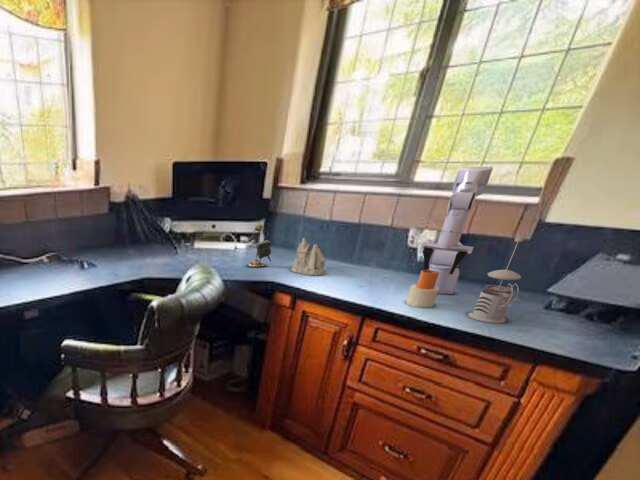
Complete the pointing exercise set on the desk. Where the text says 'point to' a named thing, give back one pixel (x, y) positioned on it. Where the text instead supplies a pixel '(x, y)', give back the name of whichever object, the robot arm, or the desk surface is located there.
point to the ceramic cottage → (308, 260)
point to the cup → (427, 279)
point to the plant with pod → (261, 249)
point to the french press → (496, 296)
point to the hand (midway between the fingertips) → (438, 271)
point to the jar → (422, 296)
